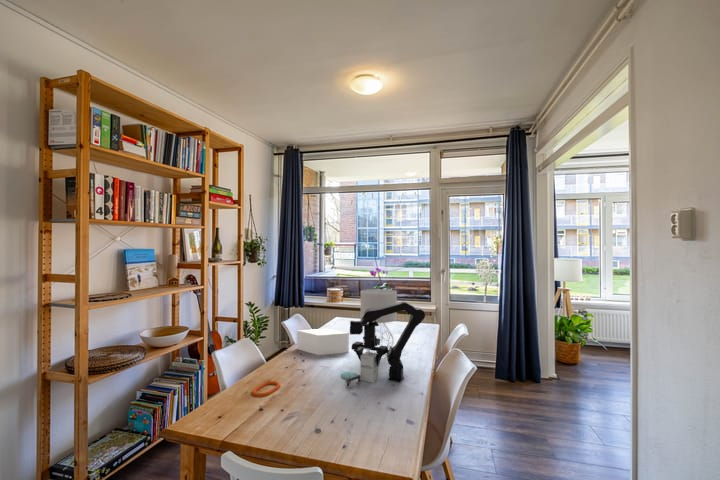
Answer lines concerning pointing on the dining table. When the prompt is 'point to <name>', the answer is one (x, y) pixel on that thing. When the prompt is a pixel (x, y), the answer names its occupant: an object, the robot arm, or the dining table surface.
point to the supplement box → (368, 367)
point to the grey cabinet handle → (352, 380)
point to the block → (322, 341)
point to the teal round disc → (344, 375)
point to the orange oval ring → (268, 391)
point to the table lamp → (379, 306)
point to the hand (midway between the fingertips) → (369, 364)
